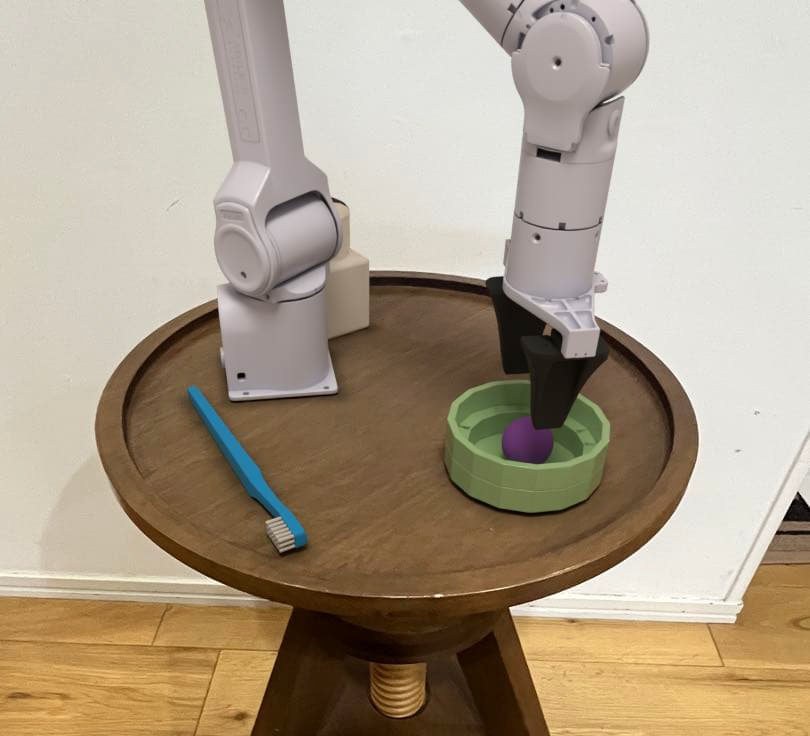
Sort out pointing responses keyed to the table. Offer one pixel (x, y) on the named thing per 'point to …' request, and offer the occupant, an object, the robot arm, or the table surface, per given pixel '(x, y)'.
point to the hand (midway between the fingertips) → (531, 398)
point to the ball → (526, 442)
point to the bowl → (516, 481)
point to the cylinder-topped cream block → (347, 285)
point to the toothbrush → (251, 477)
